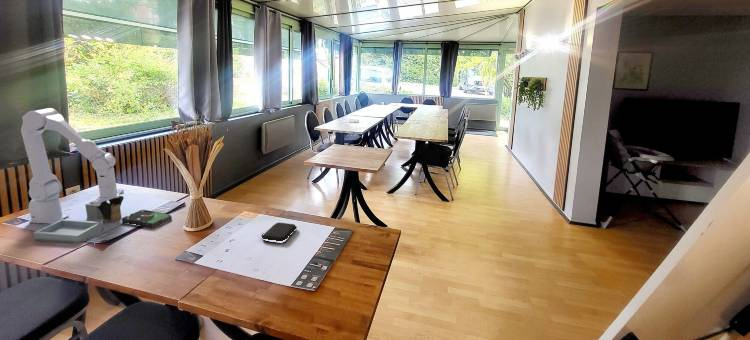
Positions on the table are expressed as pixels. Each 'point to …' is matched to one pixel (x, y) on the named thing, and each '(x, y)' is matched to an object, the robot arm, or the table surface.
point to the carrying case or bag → (279, 231)
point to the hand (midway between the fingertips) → (111, 216)
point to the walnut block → (114, 213)
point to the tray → (68, 231)
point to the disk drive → (147, 218)
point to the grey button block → (92, 211)
